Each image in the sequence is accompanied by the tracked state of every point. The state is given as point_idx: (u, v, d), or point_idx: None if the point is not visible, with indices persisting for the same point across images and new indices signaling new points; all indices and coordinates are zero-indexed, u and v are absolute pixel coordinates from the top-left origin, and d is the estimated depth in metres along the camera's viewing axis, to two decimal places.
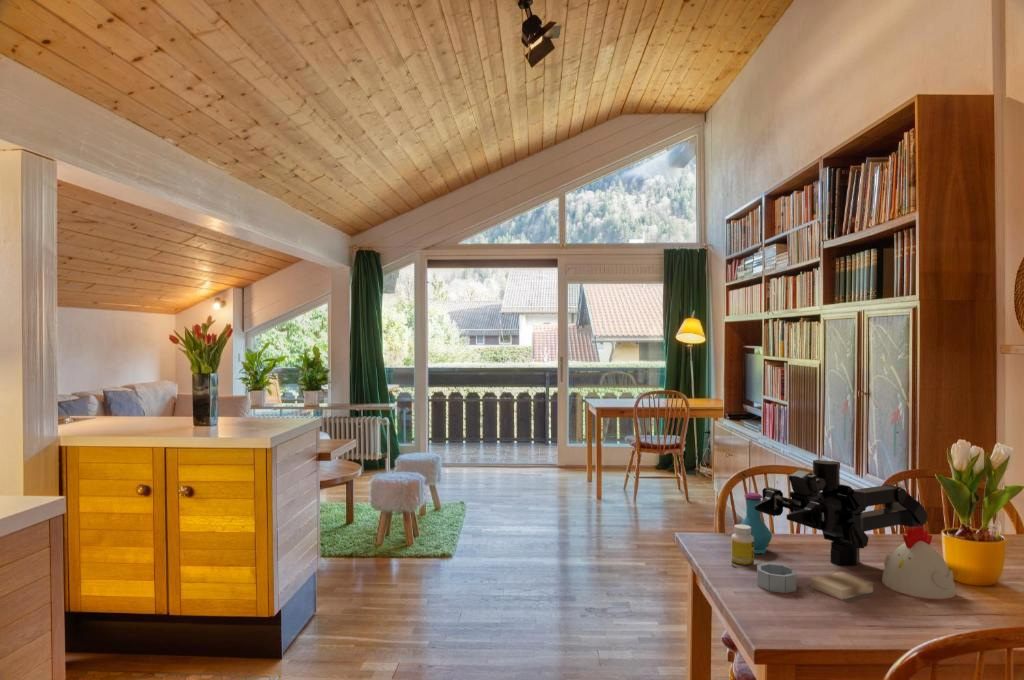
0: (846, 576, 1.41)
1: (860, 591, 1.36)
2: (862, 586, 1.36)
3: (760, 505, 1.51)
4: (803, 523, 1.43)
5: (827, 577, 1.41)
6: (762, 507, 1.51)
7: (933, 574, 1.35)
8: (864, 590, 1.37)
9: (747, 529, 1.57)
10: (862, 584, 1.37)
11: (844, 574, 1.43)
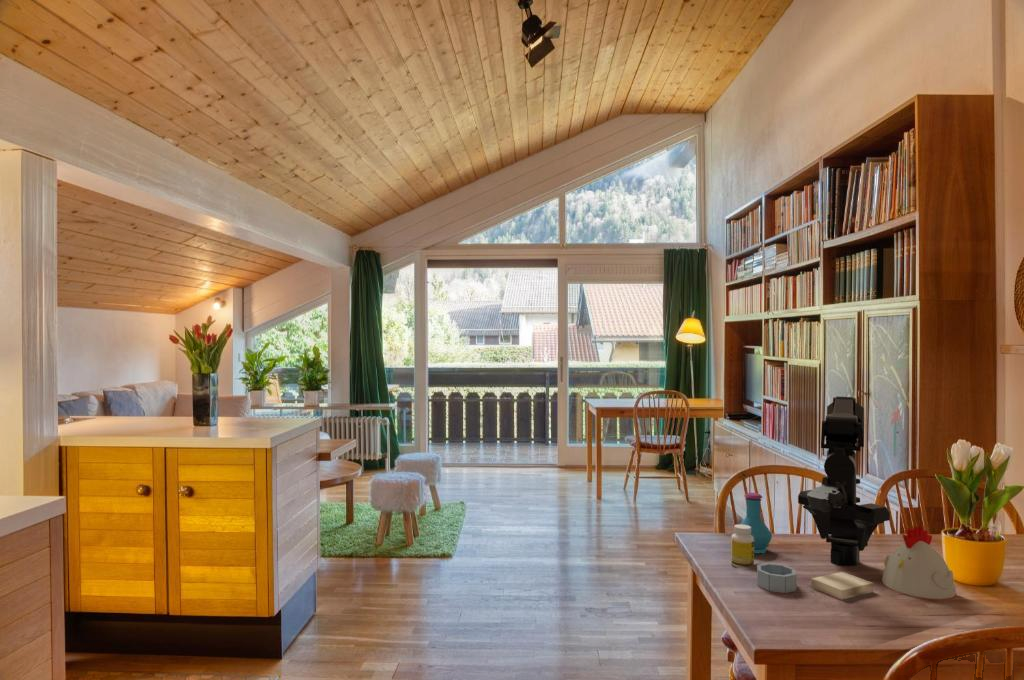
0: (846, 576, 1.41)
1: (860, 591, 1.36)
2: (862, 586, 1.36)
3: (822, 532, 1.43)
4: (871, 534, 1.35)
5: (827, 577, 1.41)
6: (824, 529, 1.43)
7: (933, 574, 1.35)
8: (864, 590, 1.37)
9: (747, 529, 1.57)
10: (862, 584, 1.37)
11: (844, 574, 1.43)
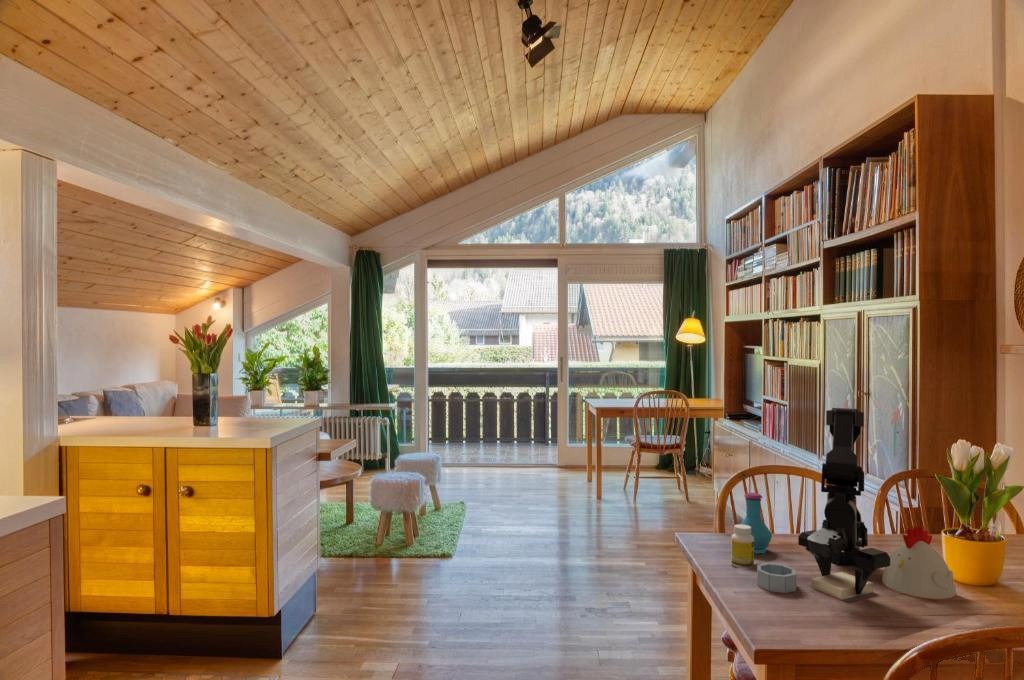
0: (846, 576, 1.41)
1: None
2: None
3: None
4: (868, 577, 1.35)
5: (827, 577, 1.41)
6: (827, 571, 1.43)
7: (933, 574, 1.35)
8: (864, 590, 1.37)
9: (747, 529, 1.57)
10: None
11: (844, 574, 1.43)
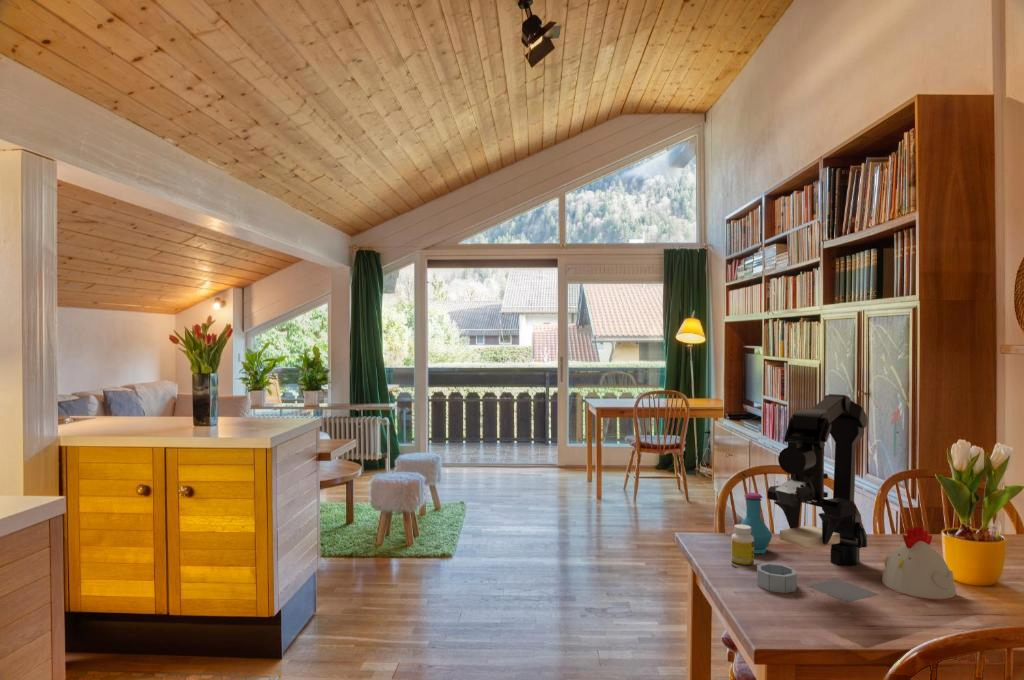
0: (814, 529, 1.42)
1: None
2: None
3: None
4: (835, 527, 1.36)
5: (795, 529, 1.42)
6: (795, 524, 1.43)
7: (933, 574, 1.35)
8: (831, 540, 1.38)
9: (747, 529, 1.57)
10: None
11: (812, 527, 1.44)
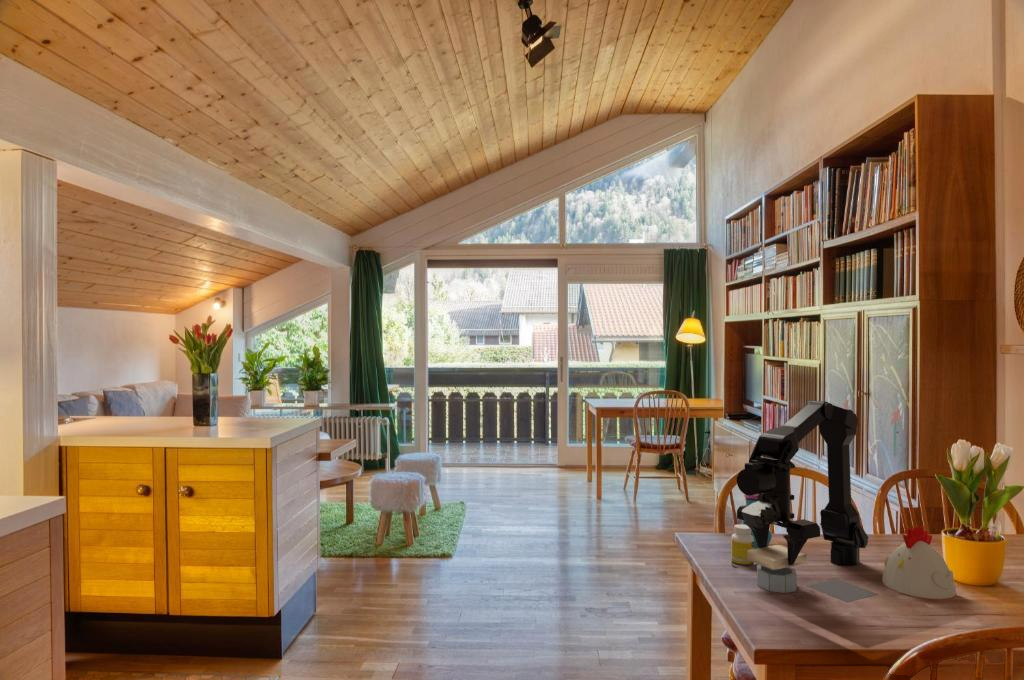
0: (782, 549, 1.44)
1: None
2: None
3: None
4: (800, 548, 1.38)
5: (763, 549, 1.43)
6: (763, 544, 1.45)
7: (933, 574, 1.35)
8: (797, 561, 1.39)
9: (747, 529, 1.57)
10: None
11: (780, 546, 1.45)
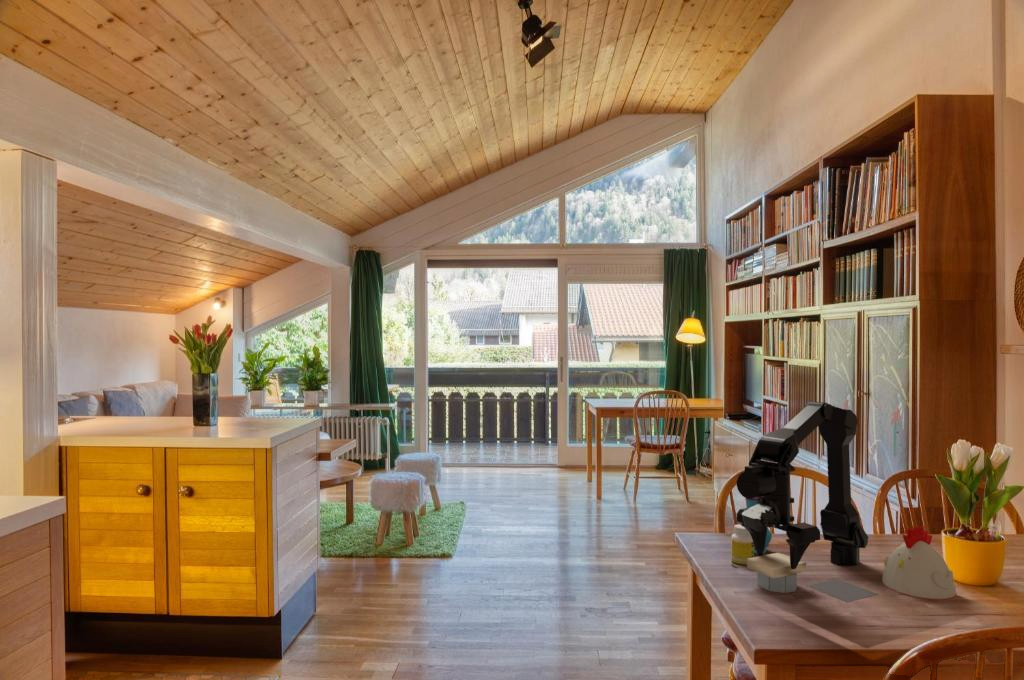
0: (782, 557, 1.44)
1: (793, 570, 1.39)
2: None
3: (759, 550, 1.45)
4: (803, 552, 1.37)
5: (763, 558, 1.43)
6: (761, 546, 1.46)
7: (933, 574, 1.35)
8: (797, 569, 1.39)
9: None
10: None
11: (780, 555, 1.45)
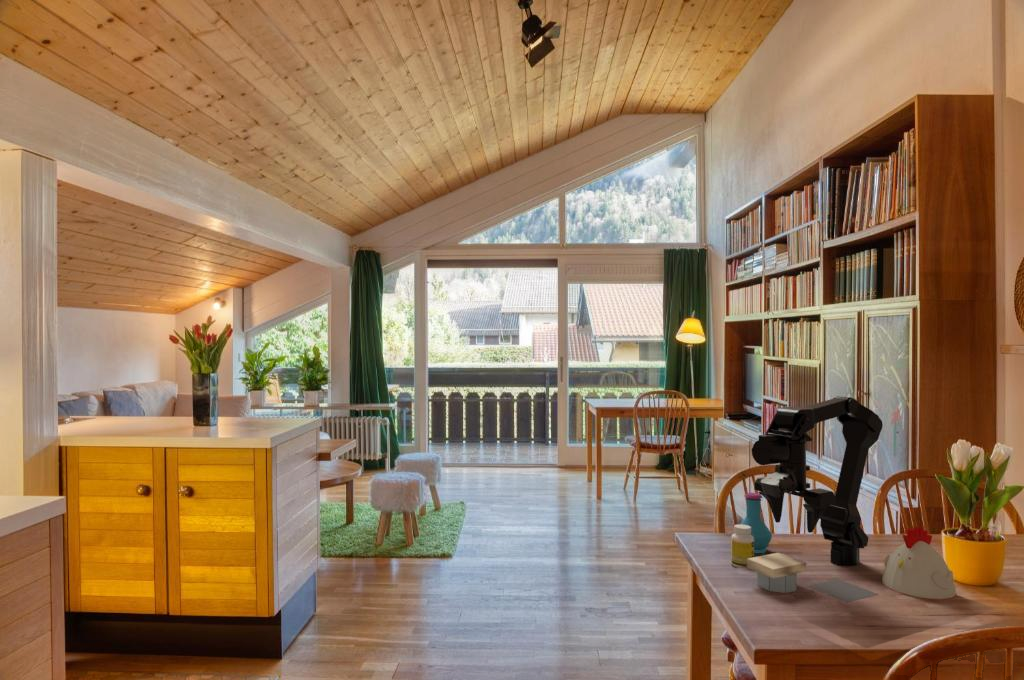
0: (782, 557, 1.44)
1: (793, 570, 1.39)
2: (795, 565, 1.39)
3: (777, 516, 1.53)
4: (819, 516, 1.45)
5: (763, 558, 1.43)
6: (778, 513, 1.53)
7: (933, 574, 1.35)
8: (797, 569, 1.39)
9: (747, 529, 1.57)
10: (795, 564, 1.39)
11: (780, 555, 1.45)
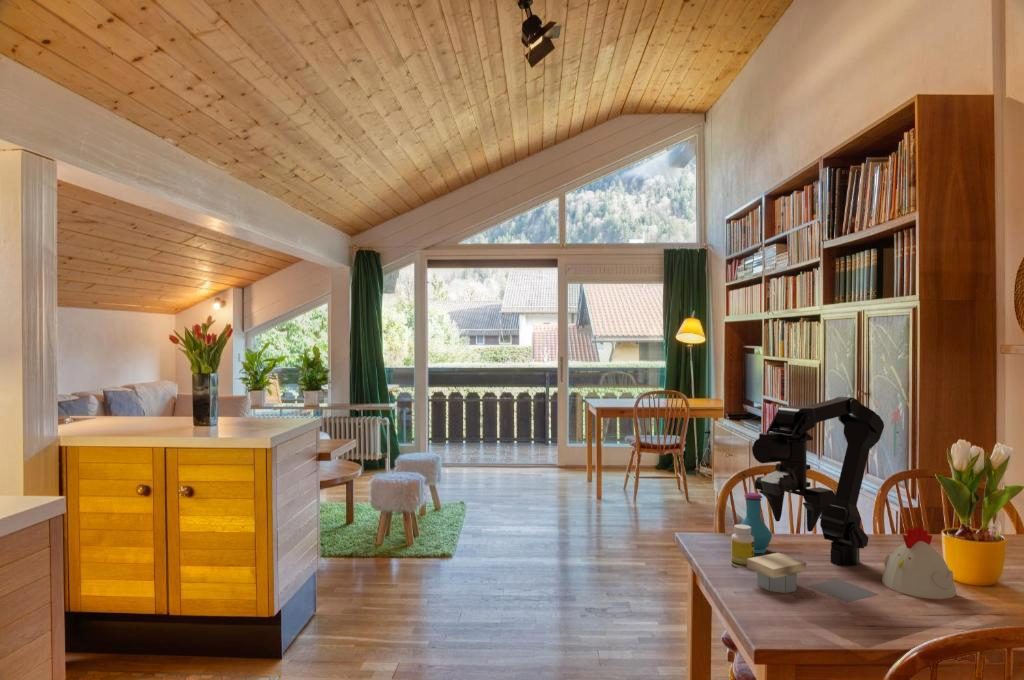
0: (782, 557, 1.44)
1: (793, 570, 1.39)
2: (795, 565, 1.39)
3: (777, 515, 1.53)
4: (819, 515, 1.45)
5: (763, 558, 1.43)
6: (778, 512, 1.54)
7: (933, 574, 1.35)
8: (797, 569, 1.39)
9: (747, 529, 1.57)
10: (795, 564, 1.39)
11: (780, 555, 1.45)
